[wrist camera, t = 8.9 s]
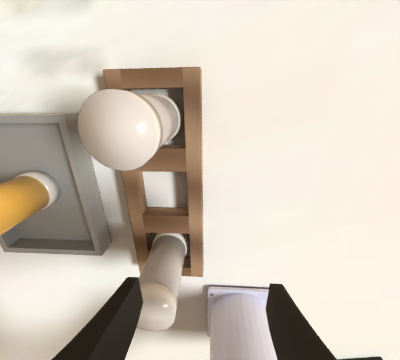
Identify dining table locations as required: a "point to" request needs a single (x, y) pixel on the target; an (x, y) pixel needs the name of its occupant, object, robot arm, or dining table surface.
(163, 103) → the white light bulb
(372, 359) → the remote control
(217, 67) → the dining table surface
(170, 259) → the cylinder
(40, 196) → the amber fuse
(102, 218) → the tray
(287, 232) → the dining table surface
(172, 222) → the brown wooden rack
